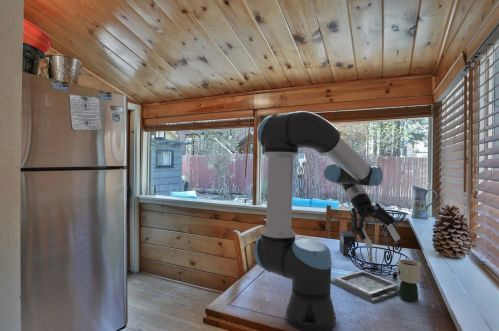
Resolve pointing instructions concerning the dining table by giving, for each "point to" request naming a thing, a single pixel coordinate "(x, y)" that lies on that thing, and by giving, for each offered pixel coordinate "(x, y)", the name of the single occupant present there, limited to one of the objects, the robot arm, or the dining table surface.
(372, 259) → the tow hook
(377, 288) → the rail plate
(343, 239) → the small box
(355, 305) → the dining table surface
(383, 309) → the dining table surface
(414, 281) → the character mug
